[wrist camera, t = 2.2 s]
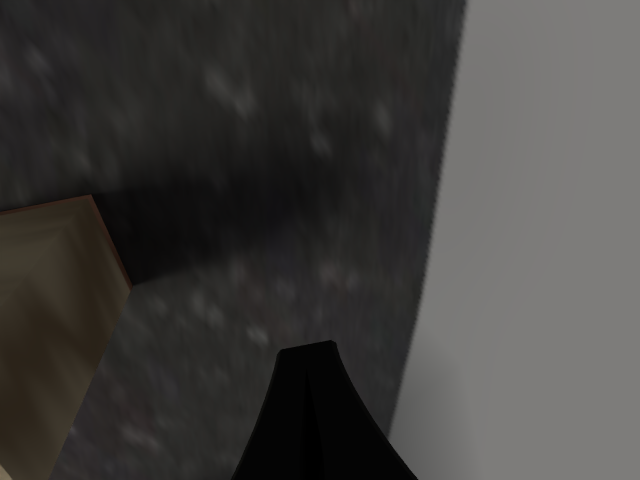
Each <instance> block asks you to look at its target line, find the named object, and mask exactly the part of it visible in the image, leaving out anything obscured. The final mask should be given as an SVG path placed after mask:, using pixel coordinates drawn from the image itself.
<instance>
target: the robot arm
mask: <svg viewBox="0 0 640 480" xmlns="http://www.w3.org/2000/svg"><path fill="white" fill-rule="evenodd" d="M231 480H418V479H417V477H416V476H415V475H414V474H413V473H412V471H411V470H410V469H409V468H408V467H407V465H406V464H405V463H404V461H403V460H402V459H401V458H400V456H399V455H398V454H397V452H396V451H395V450H394V448H393V447H392V446H391V444H390V443H389V441H388V440H387V439H386V437H385V436H384V434H383V433H382V431H381V430H380V428H379V427H378V425H377V424H376V422H375V421H374V419H373V418H372V416H371V415H370V413H369V412H368V410H367V408H366V407H365V405H364V403H363V402H362V400H361V398H360V396H359V395H358V393H357V391H356V390H355V388H354V386H353V384H352V382H351V380H350V378H349V376H348V374H347V372H346V370H345V368H344V365H343V363H342V361H341V358H340V355H339V352H338V349H337V344H336V343H335V342H334V341H332V340H329V341H323V342H318V343H313V344H308V345H302V346H297V347H292V348H287V349H282V350H280V351H279V353H278V354H277V358H276V363H275V367H274V371H273V374H272V378H271V381H270V385H269V388H268V391H267V394H266V397H265V400H264V403H263V405H262V408H261V411H260V414H259V416H258V419H257V422H256V425H255V427H254V430H253V432H252V434H251V437H250V439H249V441H248V444H247V446H246V448H245V450H244V453H243V455H242V457H241V460H240V462H239V464H238V466H237V468H236V470H235V472H234V475H233V477H232V479H231Z"/></svg>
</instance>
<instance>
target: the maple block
mask: <svg viewBox="0 0 640 480" xmlns="http://www.w3.org/2000/svg"><path fill="white" fill-rule="evenodd" d="M132 287H133V286H132V283H131V281H130V279H129V277H128V275H127V272H126V270H125V268H124V266H123V264H122V261H121V259H120V257H119V255H118V253H117V250H116V248H115V246H114V244H113V242H112V239H111V237H110V235H109V233H108V231H107V228H106V226H105V224H104V222H103V220H102V217H101V215H100V213H99V211H98V209H97V206H96V204H95V202H94V200H93V198H92V195H91V194H90V195H85V196H80V197H75V198H69V199H64V200H59V201H54V202H49V203H44V204H39V205H34V206H29V207H23V208H18V209H13V210H8V211H3V212H0V480H48V479H49V476H50V474H51V472H52V470H53V467H54V465H55V463H56V460H57V458H58V456H59V454H60V451H61V449H62V447H63V444H64V442H65V440H66V438H67V435H68V433H69V431H70V428H71V426H72V424H73V422H74V419H75V417H76V415H77V412H78V410H79V408H80V406H81V403H82V401H83V399H84V396H85V394H86V392H87V390H88V387H89V385H90V383H91V380H92V378H93V376H94V374H95V371H96V369H97V367H98V364H99V362H100V360H101V358H102V355H103V353H104V351H105V348H106V346H107V344H108V342H109V339H110V337H111V335H112V332H113V330H114V328H115V326H116V323H117V321H118V319H119V316H120V314H121V312H122V310H123V307H124V305H125V303H126V300H127V298H128V296H129V294H130V291H131V289H132Z"/></svg>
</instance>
